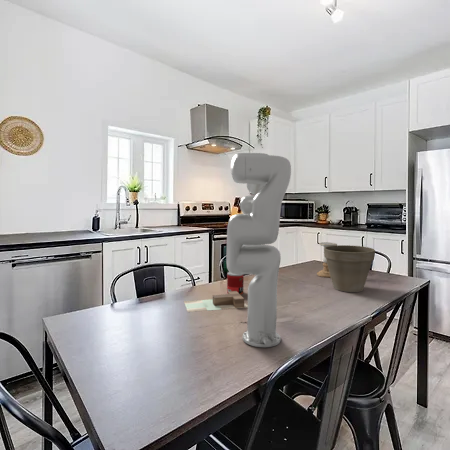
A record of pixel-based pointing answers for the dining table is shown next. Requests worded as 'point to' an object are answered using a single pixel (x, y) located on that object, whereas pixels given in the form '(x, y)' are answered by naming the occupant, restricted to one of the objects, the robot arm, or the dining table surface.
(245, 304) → the board
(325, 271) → the candle holder
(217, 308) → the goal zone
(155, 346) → the dining table surface
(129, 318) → the dining table surface
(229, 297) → the t block
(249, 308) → the robot arm
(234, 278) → the canned food
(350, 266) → the plant pot
